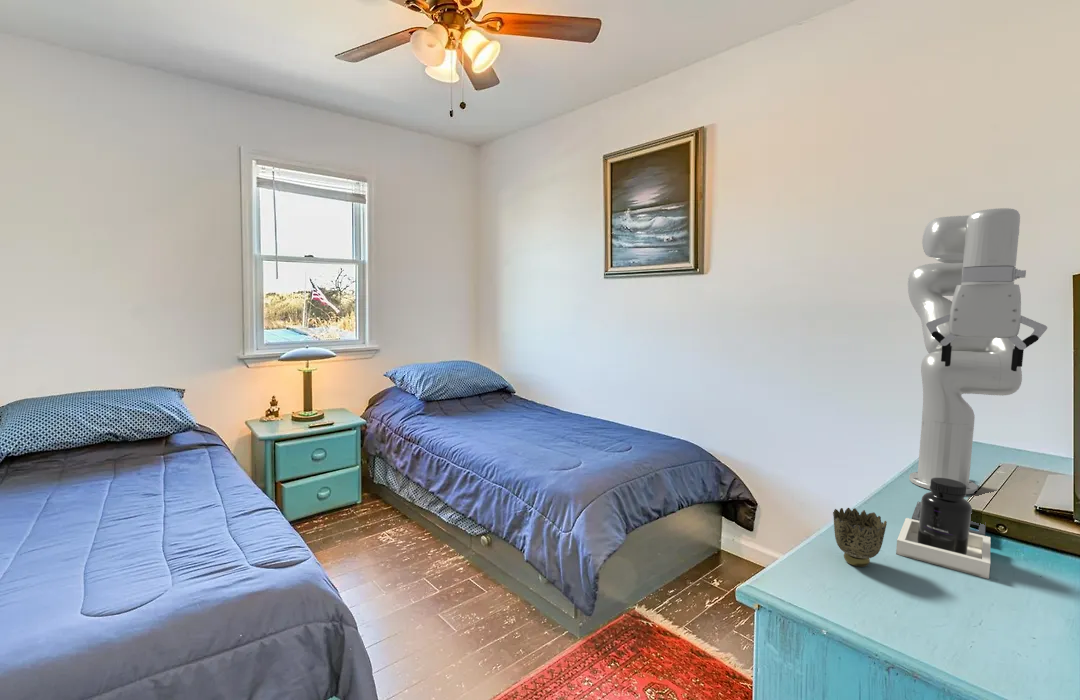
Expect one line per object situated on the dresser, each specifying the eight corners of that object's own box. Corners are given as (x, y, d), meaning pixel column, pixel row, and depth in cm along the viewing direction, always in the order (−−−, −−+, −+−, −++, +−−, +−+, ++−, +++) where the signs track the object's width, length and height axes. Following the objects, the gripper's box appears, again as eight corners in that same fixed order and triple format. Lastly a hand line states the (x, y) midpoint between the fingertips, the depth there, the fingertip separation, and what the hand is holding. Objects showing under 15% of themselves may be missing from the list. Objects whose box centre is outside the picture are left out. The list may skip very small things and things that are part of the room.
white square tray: (904, 530, 98) (905, 517, 97) (989, 551, 90) (990, 537, 89) (896, 553, 88) (897, 539, 88) (988, 579, 81) (990, 563, 80)
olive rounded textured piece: (891, 577, 81) (895, 528, 80) (840, 572, 83) (843, 523, 82) (871, 554, 88) (874, 509, 88) (824, 550, 90) (827, 505, 89)
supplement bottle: (925, 555, 87) (931, 486, 86) (911, 537, 94) (916, 473, 92) (975, 562, 85) (982, 491, 84) (957, 543, 91) (963, 477, 90)
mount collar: (917, 510, 107) (917, 501, 106) (984, 525, 100) (985, 515, 100) (910, 527, 99) (911, 517, 99) (984, 545, 92) (985, 534, 92)
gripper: (1050, 277, 94) (1041, 370, 96) (931, 279, 106) (925, 362, 107) (1054, 275, 89) (1044, 374, 90) (928, 277, 100) (921, 366, 102)
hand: (979, 368), depth 99 cm, fingers open, 9 cm apart
